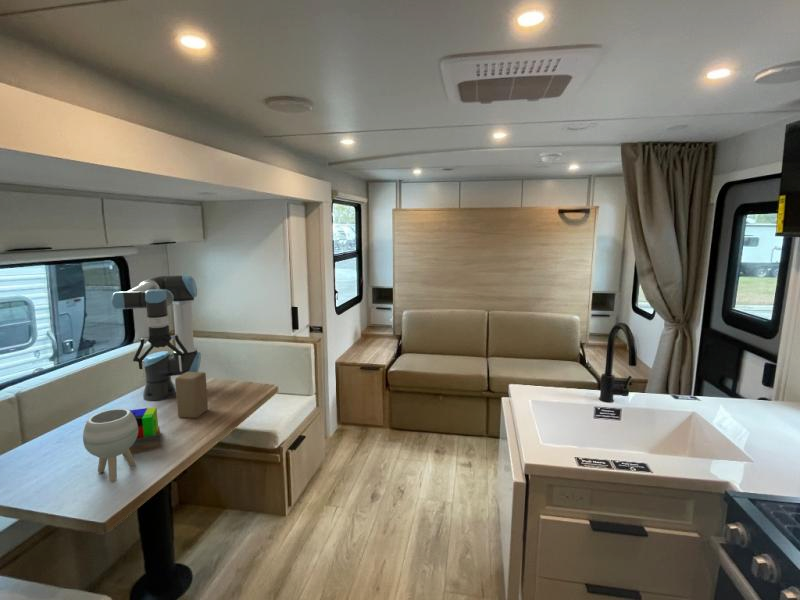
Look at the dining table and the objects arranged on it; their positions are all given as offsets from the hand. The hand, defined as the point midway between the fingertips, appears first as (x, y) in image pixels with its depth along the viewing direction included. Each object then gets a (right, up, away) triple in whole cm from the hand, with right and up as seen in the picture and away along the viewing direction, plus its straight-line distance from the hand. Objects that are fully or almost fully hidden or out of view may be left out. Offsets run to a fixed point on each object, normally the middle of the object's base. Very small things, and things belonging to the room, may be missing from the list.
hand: (163, 373), depth 172 cm
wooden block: (+2, -24, +22) cm, 33 cm away
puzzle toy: (-5, -26, -6) cm, 27 cm away
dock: (-5, -28, -6) cm, 29 cm away
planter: (-2, -32, -26) cm, 41 cm away
